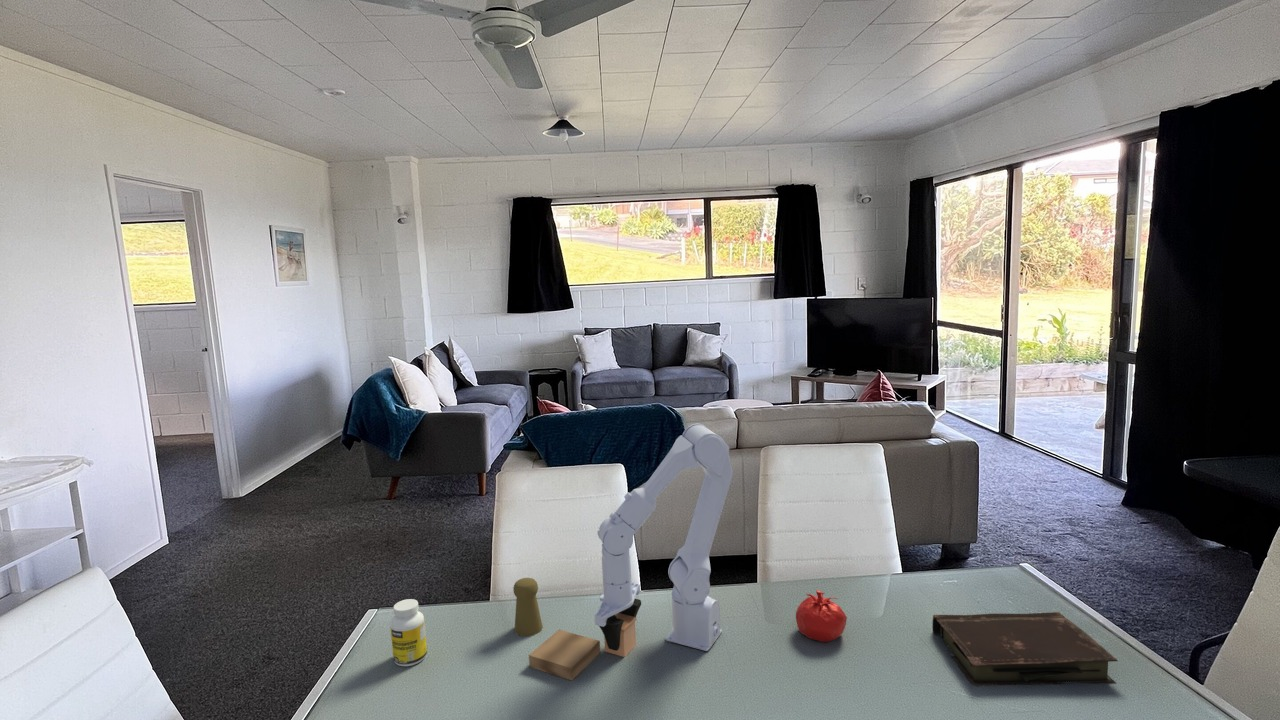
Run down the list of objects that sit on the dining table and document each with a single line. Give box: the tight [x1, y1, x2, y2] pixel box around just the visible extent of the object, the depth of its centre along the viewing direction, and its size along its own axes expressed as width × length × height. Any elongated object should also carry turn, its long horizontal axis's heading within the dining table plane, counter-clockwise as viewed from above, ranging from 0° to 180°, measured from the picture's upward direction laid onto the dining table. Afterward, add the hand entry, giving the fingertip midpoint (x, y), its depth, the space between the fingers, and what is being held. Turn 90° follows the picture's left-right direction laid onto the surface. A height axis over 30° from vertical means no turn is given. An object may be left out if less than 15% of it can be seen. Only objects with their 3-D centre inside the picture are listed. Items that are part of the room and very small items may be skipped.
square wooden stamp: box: [603, 613, 637, 658], centre depth 132 cm, size 5×5×6 cm
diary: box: [931, 611, 1118, 687], centre depth 124 cm, size 19×25×5 cm
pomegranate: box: [795, 589, 847, 643], centre depth 134 cm, size 10×10×9 cm
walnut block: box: [528, 629, 601, 681], centre depth 129 cm, size 10×10×2 cm
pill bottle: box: [389, 598, 428, 667], centre depth 132 cm, size 6×6×12 cm
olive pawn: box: [512, 577, 544, 637], centre depth 141 cm, size 6×6×11 cm
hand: (620, 641), depth 133 cm, fingers closed on square wooden stamp, 5 cm apart
